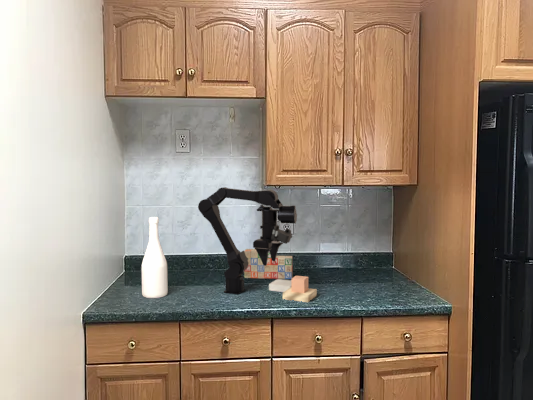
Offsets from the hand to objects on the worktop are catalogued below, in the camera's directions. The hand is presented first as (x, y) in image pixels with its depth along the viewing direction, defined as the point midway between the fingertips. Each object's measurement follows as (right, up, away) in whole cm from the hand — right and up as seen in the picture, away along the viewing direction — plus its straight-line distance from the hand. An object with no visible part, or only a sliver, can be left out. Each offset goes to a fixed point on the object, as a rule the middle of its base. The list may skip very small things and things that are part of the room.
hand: (269, 263), depth 176 cm
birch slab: (+11, -13, -4) cm, 18 cm away
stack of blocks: (0, -11, +29) cm, 31 cm away
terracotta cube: (+11, -10, -4) cm, 16 cm away
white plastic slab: (+6, -12, +8) cm, 16 cm away
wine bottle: (-44, -12, -1) cm, 46 cm away
